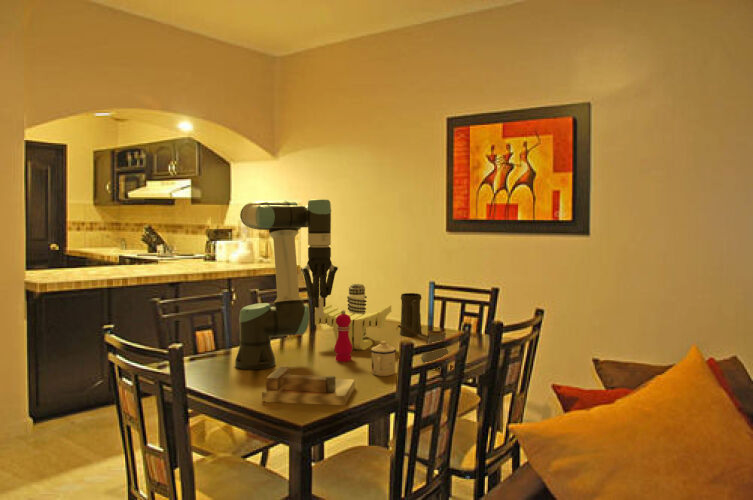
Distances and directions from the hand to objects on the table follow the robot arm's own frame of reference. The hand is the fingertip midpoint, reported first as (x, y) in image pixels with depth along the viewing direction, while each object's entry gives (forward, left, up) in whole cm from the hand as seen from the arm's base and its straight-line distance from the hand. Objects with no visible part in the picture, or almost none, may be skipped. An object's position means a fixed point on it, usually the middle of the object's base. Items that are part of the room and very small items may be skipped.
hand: (319, 316), depth 197 cm
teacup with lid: (+19, +20, -24) cm, 37 cm away
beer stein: (+25, +91, -24) cm, 97 cm away
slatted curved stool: (+1, +63, -24) cm, 68 cm away
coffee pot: (+33, +36, -24) cm, 54 cm away
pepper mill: (+1, +39, -24) cm, 46 cm away
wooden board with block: (-1, -8, -24) cm, 25 cm away
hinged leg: (0, -13, -21) cm, 25 cm away
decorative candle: (-1, +84, -24) cm, 88 cm away
